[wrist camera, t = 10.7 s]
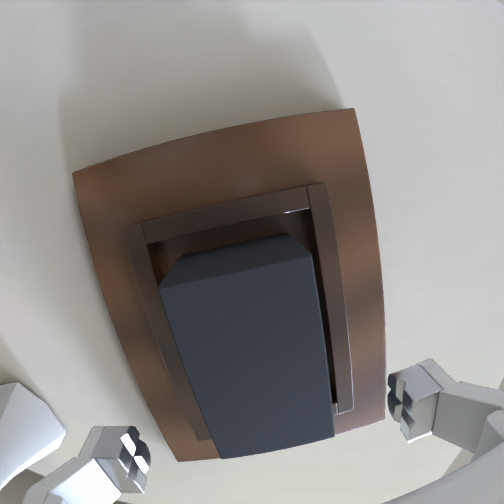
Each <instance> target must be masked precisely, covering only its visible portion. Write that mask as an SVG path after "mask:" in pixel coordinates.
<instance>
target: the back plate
mask: <svg viewBox="0 0 504 504" xmlns="http://www.w3.org/2000/svg"><path fill="white" fill-rule="evenodd" d="M72 176H73V181H74V186H75V191H76V195H77V200H78V205H79V209H80V213H81V218H82V222H83V226H84V230H85V234H86V238H87V241H88V245H89V249H90V252H91V256H92V259H93V263H94V266H95V269H96V273H97V276H98V279H99V282H100V286H101V289H102V292H103V295H104V298H105V301H106V304H107V307H108V309H109V312H110V315H111V318H112V321H113V323H114V326H115V329H116V331H117V334H118V337H119V339H120V342H121V344H122V347H123V349H124V352H125V354H126V357H127V359H128V362H129V364H130V366H131V369H132V371H133V373H134V376H135V378H136V380H137V382H138V385H139V387H140V389H141V391H142V393H143V396H144V398H145V400H146V402H147V404H148V406H149V408H150V410H151V412H152V414H153V416H154V418H155V420H156V422H157V424H158V426H159V428H160V430H161V432H162V434H163V436H164V438H165V440H166V442H167V443H168V445H169V447H170V449H171V451H172V453H173V454H174V456H175V458H176V460H177V461H178V462H184V461H197V460H207V459H216V458H220V456H219V454H218V451H217V449H216V447H215V445H214V442H213V440H212V438H211V435H210V433H209V431H208V428H207V426H206V423H205V421H204V419H203V416H202V414H201V411H200V409H199V406H198V404H197V401H196V399H195V396H194V394H193V391H192V389H191V386H190V383H189V381H188V378H187V375H186V373H185V370H184V367H183V364H182V362H181V359H180V356H179V353H178V350H177V347H176V345H175V342H174V339H173V336H172V333H171V330H170V327H169V324H168V321H167V317H166V314H165V311H164V308H163V305H162V302H161V298H160V295H159V292H158V286H159V285H160V283H161V282H162V280H163V279H164V278H165V276H166V275H167V273H168V272H169V271H170V269H171V268H172V266H173V265H174V264H175V262H176V261H177V259H178V258H179V257H180V256H182V255H186V254H191V253H195V252H200V251H204V250H209V249H213V248H218V247H222V246H227V245H231V244H236V243H241V242H245V241H250V240H254V239H259V238H263V237H268V236H273V235H277V234H282V233H289V234H290V235H291V236H292V237H293V238H294V239H295V240H296V241H297V242H299V243H300V244H301V245H302V246H303V247H304V248H305V249H306V250H307V251H308V252H309V253H310V254H311V255H312V260H313V266H314V272H315V279H316V285H317V291H318V298H319V305H320V311H321V318H322V325H323V333H324V340H325V348H326V356H327V364H328V372H329V381H330V390H331V399H332V409H333V419H334V429H335V435H337V434H341V433H344V432H347V431H351V430H354V429H357V428H360V427H363V426H366V425H369V424H372V423H375V422H378V421H381V420H384V419H385V409H386V335H385V313H384V297H383V284H382V272H381V262H380V252H379V243H378V235H377V227H376V220H375V213H374V206H373V199H372V193H371V187H370V181H369V176H368V170H367V165H366V159H365V154H364V149H363V144H362V140H361V135H360V130H359V126H358V122H357V117H356V113H355V109H354V108H349V109H339V110H331V111H322V112H315V113H307V114H300V115H294V116H287V117H281V118H275V119H269V120H263V121H258V122H253V123H247V124H242V125H237V126H232V127H228V128H223V129H219V130H214V131H210V132H205V133H201V134H197V135H193V136H189V137H185V138H181V139H177V140H173V141H170V142H166V143H162V144H159V145H155V146H151V147H148V148H145V149H141V150H138V151H135V152H131V153H128V154H125V155H122V156H119V157H115V158H112V159H109V160H106V161H103V162H100V163H97V164H95V165H92V166H89V167H86V168H83V169H81V170H78V171H75V172H73V173H72Z"/></svg>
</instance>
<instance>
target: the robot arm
mask: <svg viewBox="0 0 504 504" xmlns="http://www.w3.org/2000/svg"><path fill="white" fill-rule="evenodd" d="M388 386H389V387H390V388H391V390H390V392H389V394H388V407H389V411H390V413H391V416H392V417H393V419H394V421H397V422H399V423H400V430H401V432H402V433H403V435H404V436H405V438H406V440H407V441H408V442H411V441H413V440H416V439H418V438H421V437H423V436H425V435H428V434H430V433H432V434H433V435H435V436H437V437H439V438H441V439H444V440H446V441H448V442H450V443H452V444H455V445H457V446H459V447H461V448H464V449H466V450H468V451H470V452H473V453H474V455H473V457H472V460H471V462H470V463H468V464H466V465H464V466H463V467H461V468H459V469H457V470H455V471H453V472H452V473H450V474H448V475H446V476H444V477H442V478H440V479H438V480H436V481H434V482H432V483H430V484H427V485H425V486H423V487H421V488H419V489H416V490H414V491H412V492H410V493H407V494H405V495H402V496H400V497H397V498H395V499H392V500H390V501H387V502H385V503H382V504H504V391H503V390H498V389H493V388H489V387H484V386H479V385H475V384H470V383H466V382H462V381H460V382H458V383H457V382H456V381H455V380H454V379H452V378H451V377H450V376H449V375H448V374H447V373H446V372H445V371H444V370H443V369H442V368H441V367H440V366H439V365H438V364H437V363H436V362H435V361H434V360H433V359H430V358H429V359H427V360H425V361H422V362H420V363H417V364H416V365H413V366H411V367H408V368H405V369H403V370H400V371H397V372H395V373H392V374H389V377H388ZM139 435H140V434H139V432H138V430H137V429H136V427H134V426H94V427H93V428H91V430H90V432H89V434H88V436H87V438H86V440H85V442H84V445H83V447H82V449H81V451H80V453H79V455H78V457H73V458H72V459H71V460H69V461H68V462H66V463H65V464H64V465H62V466H61V467H59V468H58V469H56V470H55V471H53V472H52V473H51V474H49V475H48V476H46V477H45V478H43V479H42V480H40V481H39V482H37V483H36V484H34V485H33V486H31V487H30V488H29V489H28V491H27V493H26V494H25V496H24V498H23V501H22V502H21V504H112V503H113V502H114V501H115V500H116V499H117V498H118V497H119V496H120V495H121V493H144V490H145V486H146V481H147V477H146V476H145V474H144V473H145V472H146V471H147V470H148V469H149V468H150V463H151V459H150V452H149V449H148V447H147V445H146V444H145V443H144V442H143V441H141V440H139V439H138V438H139Z"/></svg>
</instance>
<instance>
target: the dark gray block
mask: <svg viewBox="0 0 504 504" xmlns="http://www.w3.org/2000/svg"><path fill="white" fill-rule="evenodd" d="M158 292H159V295H160V298H161V302H162V305H163V308H164V311H165V314H166V317H167V321H168V324H169V327H170V330H171V333H172V336H173V339H174V342H175V345H176V347H177V350H178V353H179V356H180V359H181V362H182V364H183V367H184V370H185V373H186V375H187V378H188V381H189V383H190V386H191V389H192V391H193V394H194V396H195V399H196V401H197V404H198V406H199V409H200V411H201V414H202V416H203V419H204V421H205V423H206V426H207V428H208V431H209V433H210V435H211V438H212V440H213V442H214V445H215V447H216V449H217V451H218V454H219V456H220V458H221V459H227V458H235V457H242V456H248V455H254V454H260V453H266V452H271V451H276V450H281V449H286V448H291V447H295V446H300V445H304V444H308V443H312V442H316V441H320V440H324V439H328V438H331V437H334V436H335V429H334V419H333V409H332V399H331V390H330V381H329V372H328V364H327V356H326V348H325V340H324V333H323V325H322V318H321V311H320V305H319V298H318V291H317V285H316V279H315V272H314V266H313V260H312V255H311V254H310V253H309V252H308V251H307V250H306V249H305V248H304V247H303V246H302V245H301V244H300V243H299V242H297V241H296V240H295V239H294V238H293V237H292V236H291V235H290V234H289V233H282V234H277V235H273V236H268V237H263V238H259V239H254V240H250V241H245V242H241V243H236V244H231V245H227V246H222V247H218V248H213V249H209V250H204V251H200V252H195V253H191V254H186V255H182V256H180V257H179V258H178V259H177V261H176V262H175V264H174V265H173V266H172V268H171V269H170V271H169V272H168V273H167V275H166V276H165V278H164V279H163V280H162V282H161V283H160V285H159V286H158Z"/></svg>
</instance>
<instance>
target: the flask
mask: <svg viewBox="0 0 504 504" xmlns="http://www.w3.org/2000/svg"><path fill="white" fill-rule="evenodd" d="M65 433H66V431H65V429H64V428H63V426H62V425H61V424H60V422H59V421H58V420H57V418H56V417H55V415H54V414H53V412H52V411H51V410H50V408H49V407H48V405H47V404H46V403H45V402H43V401H42V400H41V399H39V398H38V397H37V396H35V395H34V394H33V393H31V392H30V391H29V390H28V389H26V388H25V387H24V386H23V385H21V384H20V383H19V382H14V383H8V384H2V385H0V490H1V489H2V488H3V487H4V486H5V485H6V484H7V483H8V482H9V481H10V480H11V479H12V478H13V477H14V476H15V475H17V474H18V473H20V472H21V471H23V470H24V469H26V468H27V467H29V466H30V465H32V464H33V463H35V462H36V461H38V460H40V459H41V458H43V457H45V456H46V455H48V454H50V453H51V452H53V451H54V450H56V449H57V448H59V447H60V444H61V442H62V440H63V438H64V436H65Z"/></svg>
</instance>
